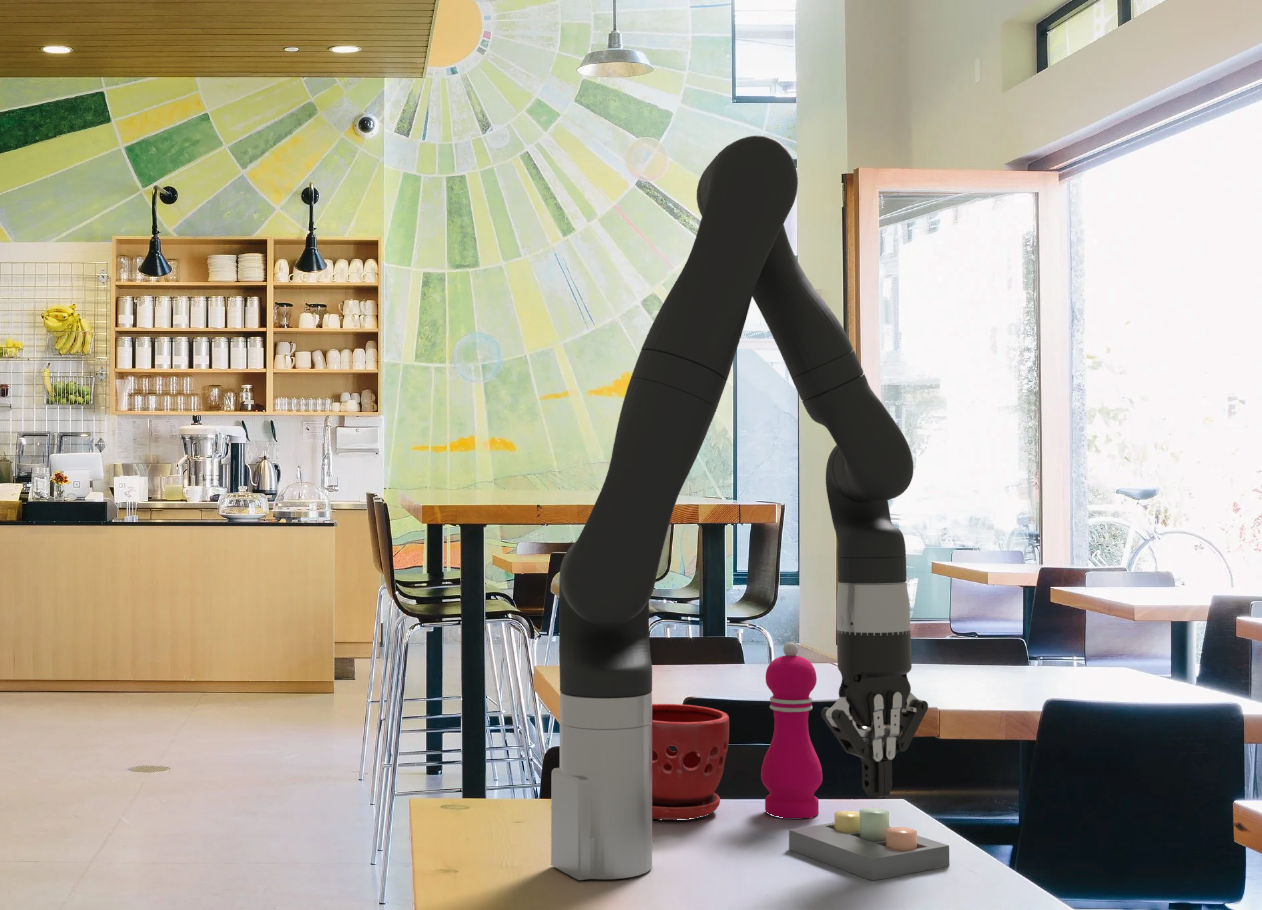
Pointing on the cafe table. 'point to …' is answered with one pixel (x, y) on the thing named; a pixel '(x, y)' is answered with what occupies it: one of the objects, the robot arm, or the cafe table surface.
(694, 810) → the plant pot
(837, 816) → the ochre button
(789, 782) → the pepper mill
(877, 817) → the sage button
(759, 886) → the cafe table surface
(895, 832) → the terracotta button
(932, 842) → the panel
